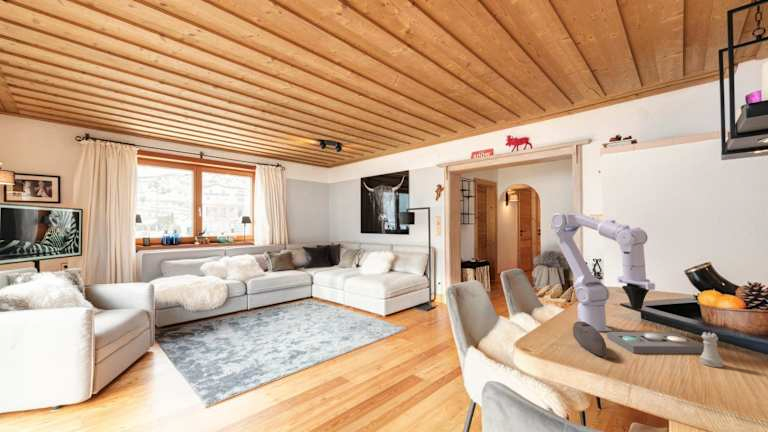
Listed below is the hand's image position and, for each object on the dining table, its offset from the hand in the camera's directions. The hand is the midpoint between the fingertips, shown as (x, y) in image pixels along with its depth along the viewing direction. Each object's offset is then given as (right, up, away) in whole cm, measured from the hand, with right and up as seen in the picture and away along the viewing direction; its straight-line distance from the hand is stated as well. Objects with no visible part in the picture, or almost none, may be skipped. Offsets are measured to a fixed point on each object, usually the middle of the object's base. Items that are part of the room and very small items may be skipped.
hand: (636, 308), depth 102 cm
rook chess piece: (+6, -10, -18) cm, 21 cm away
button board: (+3, -10, -4) cm, 11 cm away
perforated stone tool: (-18, -11, -6) cm, 22 cm away
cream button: (+9, -9, -4) cm, 13 cm away
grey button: (+2, -8, -3) cm, 9 cm away
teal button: (-4, -10, -3) cm, 11 cm away
